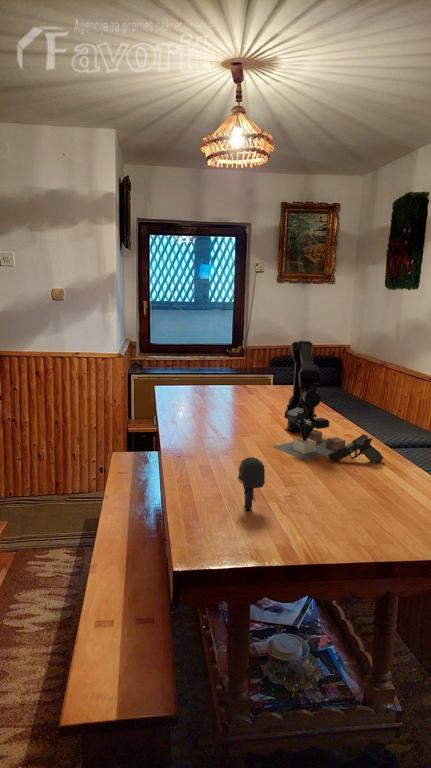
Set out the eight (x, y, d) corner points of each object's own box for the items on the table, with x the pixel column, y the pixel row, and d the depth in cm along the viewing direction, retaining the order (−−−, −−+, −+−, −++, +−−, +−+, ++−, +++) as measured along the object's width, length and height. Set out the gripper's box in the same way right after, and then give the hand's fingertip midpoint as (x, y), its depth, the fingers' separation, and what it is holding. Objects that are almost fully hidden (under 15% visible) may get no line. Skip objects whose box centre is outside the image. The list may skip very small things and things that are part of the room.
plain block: (292, 449, 193) (293, 439, 192) (304, 447, 196) (304, 437, 196) (303, 453, 188) (304, 443, 187) (315, 451, 191) (315, 441, 191)
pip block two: (326, 448, 196) (326, 437, 195) (335, 446, 198) (336, 436, 197) (334, 451, 192) (335, 441, 191) (344, 450, 194) (345, 440, 193)
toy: (234, 502, 145) (236, 452, 142) (260, 501, 146) (263, 453, 143) (238, 516, 136) (240, 464, 133) (266, 516, 137) (269, 464, 134)
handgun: (383, 457, 182) (367, 430, 180) (384, 459, 181) (369, 432, 178) (342, 480, 184) (326, 454, 182) (343, 482, 182) (328, 456, 180)
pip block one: (304, 440, 205) (305, 430, 204) (311, 438, 208) (312, 428, 207) (314, 443, 201) (315, 433, 200) (321, 441, 205) (322, 431, 204)
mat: (271, 447, 196) (271, 446, 196) (317, 437, 210) (317, 437, 210) (303, 461, 181) (303, 460, 181) (351, 449, 196) (351, 448, 196)
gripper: (275, 398, 191) (272, 437, 194) (310, 408, 176) (307, 450, 179) (296, 395, 198) (293, 433, 201) (331, 405, 183) (328, 445, 186)
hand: (304, 440), depth 191 cm, fingers closed
